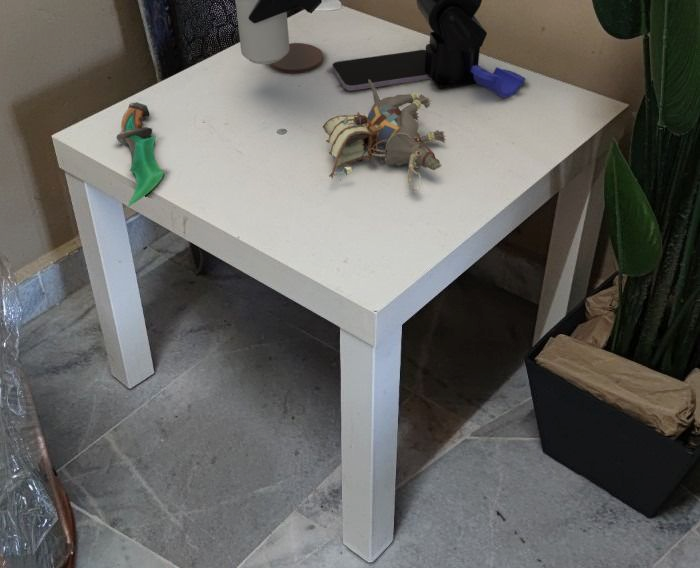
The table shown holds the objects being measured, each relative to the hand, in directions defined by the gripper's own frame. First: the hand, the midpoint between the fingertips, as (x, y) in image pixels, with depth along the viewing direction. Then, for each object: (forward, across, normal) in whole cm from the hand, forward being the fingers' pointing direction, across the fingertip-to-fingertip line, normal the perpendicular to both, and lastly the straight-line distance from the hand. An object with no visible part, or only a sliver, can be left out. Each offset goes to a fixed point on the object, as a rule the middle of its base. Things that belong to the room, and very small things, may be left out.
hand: (250, 8), depth 117 cm
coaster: (+5, -9, +13) cm, 16 cm away
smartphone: (-4, -4, +22) cm, 23 cm away
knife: (+17, +13, -1) cm, 22 cm away
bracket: (-16, +3, +30) cm, 34 cm away
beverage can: (+4, 0, +6) cm, 7 cm away
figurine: (-1, +17, +19) cm, 25 cm away
